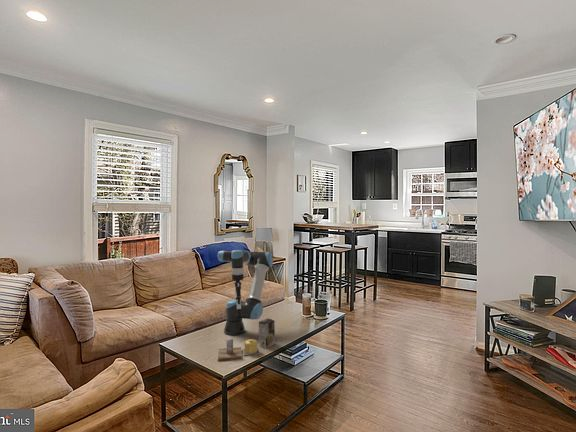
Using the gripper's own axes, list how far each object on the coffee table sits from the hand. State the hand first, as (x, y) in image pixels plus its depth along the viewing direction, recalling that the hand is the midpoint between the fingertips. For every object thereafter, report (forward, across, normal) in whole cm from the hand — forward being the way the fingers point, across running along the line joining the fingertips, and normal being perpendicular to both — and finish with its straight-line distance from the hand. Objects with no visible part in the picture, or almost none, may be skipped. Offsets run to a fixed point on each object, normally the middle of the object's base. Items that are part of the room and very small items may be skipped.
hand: (238, 305), depth 223 cm
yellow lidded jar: (+25, +13, +7) cm, 29 cm away
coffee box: (+26, +5, +18) cm, 32 cm away
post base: (+26, +15, -6) cm, 31 cm away
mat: (+26, +14, +7) cm, 30 cm away
